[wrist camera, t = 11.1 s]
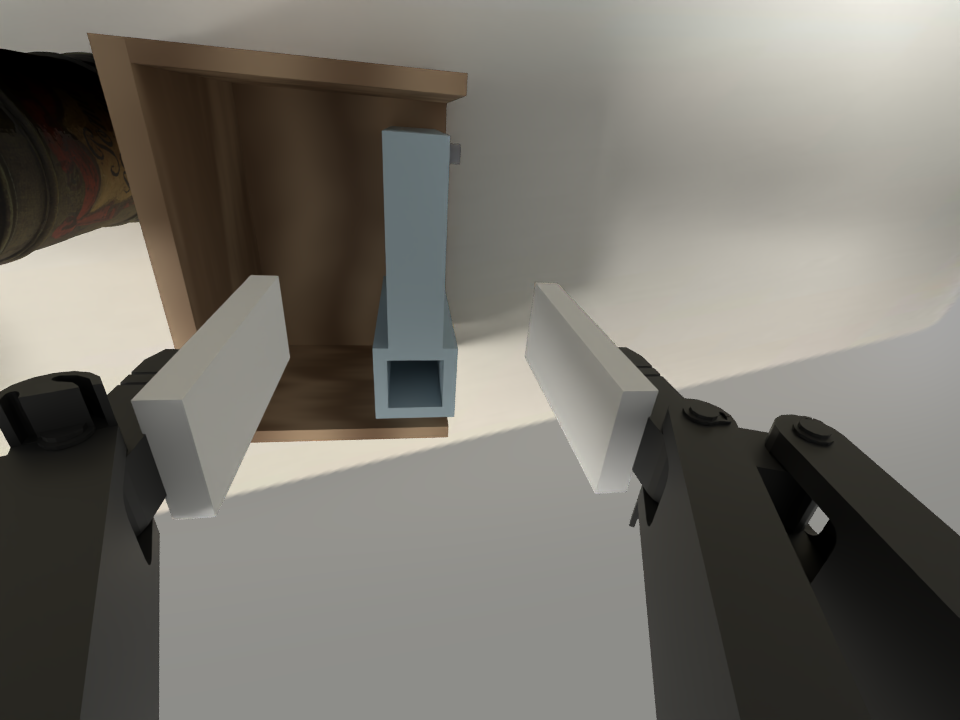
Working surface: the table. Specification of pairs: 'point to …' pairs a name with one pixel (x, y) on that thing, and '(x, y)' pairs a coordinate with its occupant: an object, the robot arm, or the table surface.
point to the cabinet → (272, 204)
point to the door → (415, 279)
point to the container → (56, 153)
